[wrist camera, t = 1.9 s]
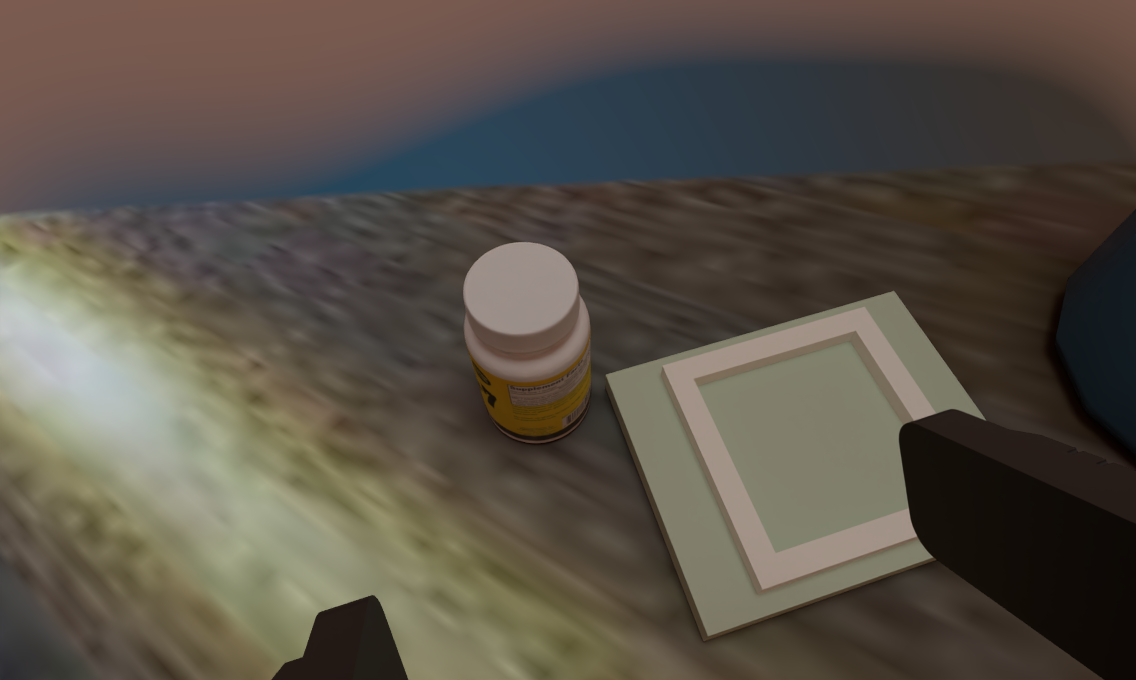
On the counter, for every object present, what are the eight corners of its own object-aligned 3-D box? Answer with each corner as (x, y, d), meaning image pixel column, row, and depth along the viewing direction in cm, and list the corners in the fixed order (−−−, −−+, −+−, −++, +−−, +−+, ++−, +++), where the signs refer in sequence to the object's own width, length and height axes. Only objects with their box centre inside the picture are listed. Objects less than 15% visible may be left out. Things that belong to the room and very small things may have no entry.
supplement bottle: (480, 360, 31) (446, 241, 24) (580, 343, 32) (576, 221, 24) (491, 455, 29) (457, 354, 22) (600, 436, 29) (602, 330, 22)
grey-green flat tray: (703, 641, 25) (711, 632, 23) (605, 387, 30) (606, 365, 29) (1036, 524, 26) (1066, 508, 25) (884, 306, 32) (900, 280, 30)
